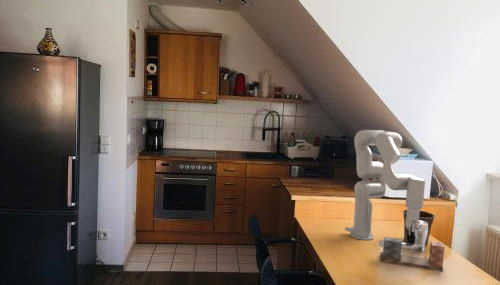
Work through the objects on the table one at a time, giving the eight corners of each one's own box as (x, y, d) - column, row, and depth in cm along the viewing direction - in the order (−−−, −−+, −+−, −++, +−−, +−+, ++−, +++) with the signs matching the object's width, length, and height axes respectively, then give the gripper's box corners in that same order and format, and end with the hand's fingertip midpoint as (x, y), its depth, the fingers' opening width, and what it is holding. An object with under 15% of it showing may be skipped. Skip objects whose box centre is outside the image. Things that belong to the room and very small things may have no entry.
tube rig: (380, 261, 192) (382, 239, 191) (380, 254, 201) (382, 233, 200) (442, 271, 184) (445, 248, 183) (439, 263, 193) (441, 241, 192)
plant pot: (432, 240, 227) (435, 212, 226) (432, 249, 213) (435, 219, 211) (401, 235, 234) (404, 207, 232) (399, 243, 219) (401, 214, 218)
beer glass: (425, 249, 212) (427, 221, 211) (426, 253, 206) (429, 225, 204) (411, 247, 214) (413, 219, 213) (411, 251, 208) (414, 223, 206)
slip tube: (379, 246, 195) (380, 228, 194) (379, 244, 198) (380, 226, 197) (421, 253, 189) (423, 234, 188) (421, 250, 192) (422, 232, 191)
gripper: (404, 199, 199) (401, 235, 201) (406, 207, 183) (403, 246, 185) (421, 201, 197) (417, 237, 198) (424, 209, 181) (421, 249, 183)
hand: (410, 241), depth 192 cm, fingers open, 3 cm apart
